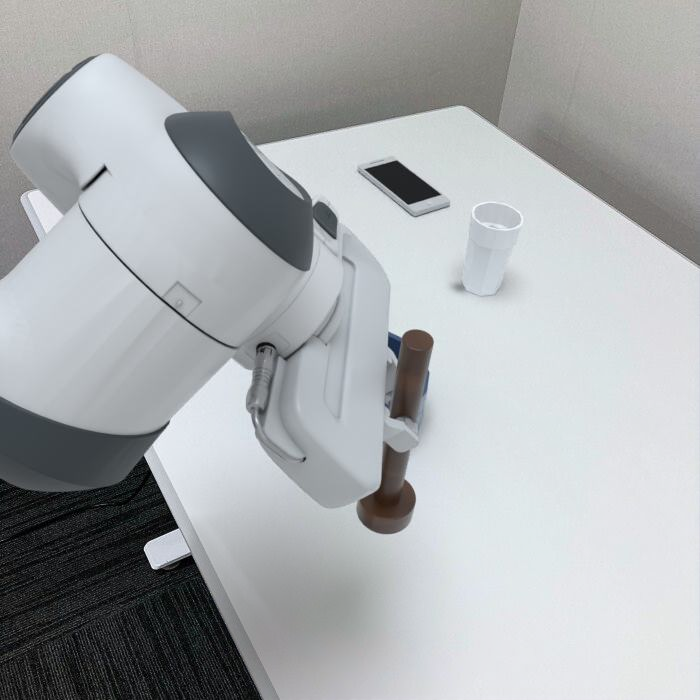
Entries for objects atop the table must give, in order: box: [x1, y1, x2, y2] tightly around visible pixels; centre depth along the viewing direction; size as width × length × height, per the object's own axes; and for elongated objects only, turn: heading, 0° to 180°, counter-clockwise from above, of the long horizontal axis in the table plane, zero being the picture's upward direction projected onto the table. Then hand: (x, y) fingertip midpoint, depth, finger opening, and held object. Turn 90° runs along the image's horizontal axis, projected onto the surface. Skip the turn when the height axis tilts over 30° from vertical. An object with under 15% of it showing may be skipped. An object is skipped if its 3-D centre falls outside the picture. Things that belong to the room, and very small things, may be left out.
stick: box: [355, 328, 435, 535], centre depth 54 cm, size 4×4×18 cm
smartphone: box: [357, 155, 451, 217], centre depth 122 cm, size 7×15×1 cm, turn 34°
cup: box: [461, 201, 525, 297], centre depth 102 cm, size 7×7×11 cm
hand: (410, 422), depth 53 cm, fingers closed on stick, 2 cm apart
